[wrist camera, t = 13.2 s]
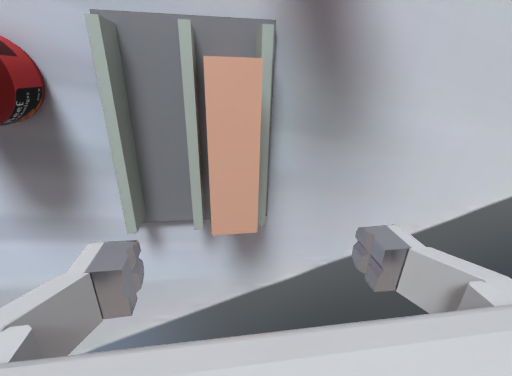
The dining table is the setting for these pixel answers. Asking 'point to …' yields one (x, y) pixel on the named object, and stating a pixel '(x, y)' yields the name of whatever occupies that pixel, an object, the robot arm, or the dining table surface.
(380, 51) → the dining table surface
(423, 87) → the dining table surface
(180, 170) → the slotted rail base
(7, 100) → the canned food
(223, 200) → the terracotta tile
